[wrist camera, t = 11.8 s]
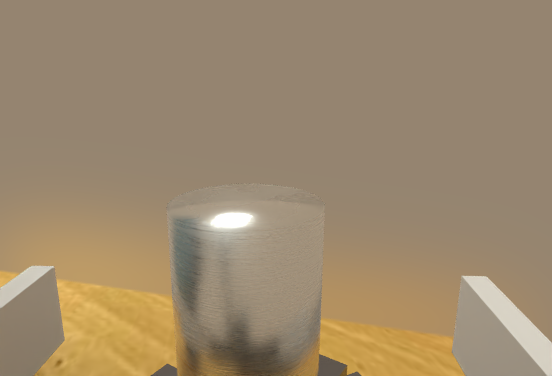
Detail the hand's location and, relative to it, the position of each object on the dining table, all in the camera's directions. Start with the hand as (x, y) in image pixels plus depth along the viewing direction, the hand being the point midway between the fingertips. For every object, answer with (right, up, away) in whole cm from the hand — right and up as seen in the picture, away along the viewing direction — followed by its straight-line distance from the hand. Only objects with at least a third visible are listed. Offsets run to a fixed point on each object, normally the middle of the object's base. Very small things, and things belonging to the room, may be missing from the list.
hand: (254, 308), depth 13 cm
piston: (0, -8, +3) cm, 9 cm away
